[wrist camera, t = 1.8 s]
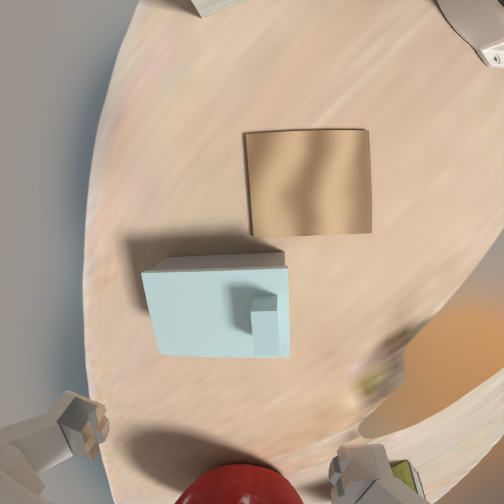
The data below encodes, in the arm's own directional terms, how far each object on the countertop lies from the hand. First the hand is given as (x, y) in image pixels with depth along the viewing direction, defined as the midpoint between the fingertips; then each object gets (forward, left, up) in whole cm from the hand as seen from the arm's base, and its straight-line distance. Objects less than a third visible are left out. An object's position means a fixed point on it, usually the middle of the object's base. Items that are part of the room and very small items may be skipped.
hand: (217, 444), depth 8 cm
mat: (-6, -6, -29) cm, 30 cm away
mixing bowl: (+6, +52, -29) cm, 60 cm away
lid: (+5, +7, -23) cm, 24 cm away
